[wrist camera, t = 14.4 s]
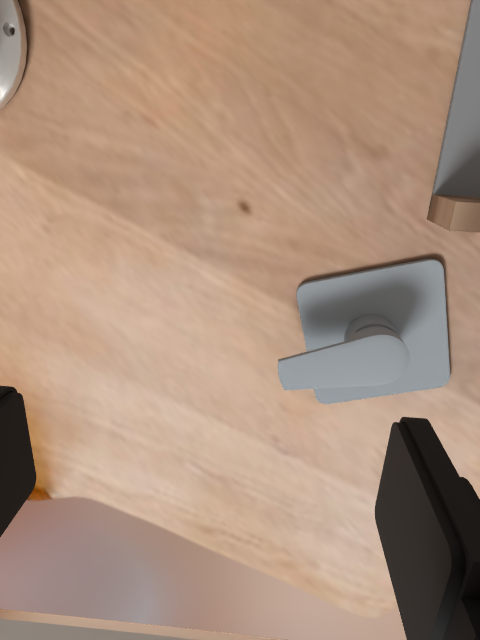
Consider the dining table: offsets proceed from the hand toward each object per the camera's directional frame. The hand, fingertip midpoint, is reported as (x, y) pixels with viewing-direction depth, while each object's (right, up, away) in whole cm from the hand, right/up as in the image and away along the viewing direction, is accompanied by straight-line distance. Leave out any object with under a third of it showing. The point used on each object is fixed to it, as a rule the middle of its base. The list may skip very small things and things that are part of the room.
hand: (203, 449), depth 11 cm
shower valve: (+12, +2, +30) cm, 32 cm away
